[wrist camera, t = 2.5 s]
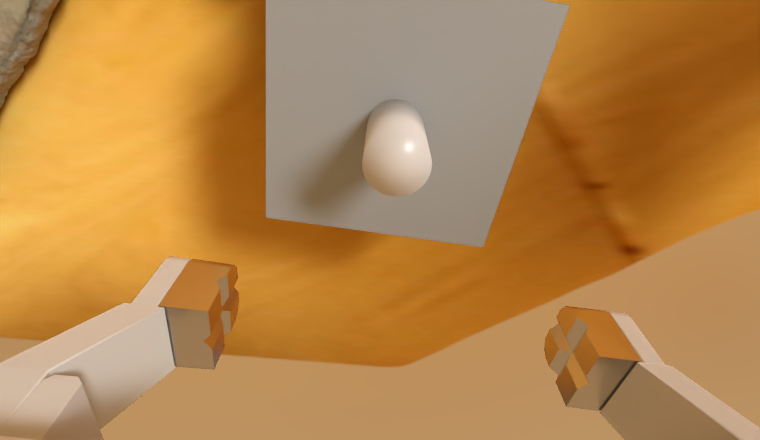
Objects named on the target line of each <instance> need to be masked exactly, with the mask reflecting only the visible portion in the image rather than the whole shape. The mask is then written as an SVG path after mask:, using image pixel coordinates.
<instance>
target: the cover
mask: <svg viewBox="0 0 760 440" xmlns="http://www.w3.org/2000/svg"><path fill="white" fill-rule="evenodd" d="M569 7H570V5H566V4H560V3H555V2H549V1H544V0H266V218H272V219H280V220H287V221H294V222H302V223H309V224H316V225H323V226H331V227H338V228H345V229H353V230H360V231H367V232H375V233H382V234H389V235H396V236H404V237H411V238H418V239H426V240H433V241H440V242H448V243H455V244H462V245H469V246H477V247H483V246H484V243H485V241H486V238H487V235H488V232H489V230H490V227H491V224H492V221H493V218H494V216H495V213H496V210H497V207H498V204H499V202H500V199H501V196H502V193H503V191H504V188H505V185H506V182H507V179H508V177H509V174H510V171H511V168H512V166H513V163H514V160H515V157H516V154H517V152H518V149H519V146H520V143H521V140H522V138H523V135H524V132H525V129H526V127H527V124H528V121H529V118H530V115H531V113H532V110H533V107H534V104H535V102H536V99H537V96H538V93H539V90H540V88H541V85H542V82H543V79H544V76H545V74H546V71H547V68H548V65H549V63H550V60H551V57H552V54H553V51H554V49H555V46H556V43H557V40H558V38H559V35H560V32H561V29H562V26H563V24H564V21H565V18H566V15H567V13H568V10H569Z"/></svg>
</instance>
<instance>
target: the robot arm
mask: <svg viewBox="0 0 760 440" xmlns="http://www.w3.org/2000/svg"><path fill="white" fill-rule="evenodd" d="M237 279H238V274H237V267H236V266H235V265H231V264H225V263H218V262H211V261H204V260H197V259H188V258H181V257H174V256H170V257H168V258H166V259H165V260H164V261H163V263H162V264H161V265H160V267H159V268H158V269H157V270H156V272H155V273H154V274H153V276H152V277H151V278H150V279H149V281H148V282H147V283H146V284H145V286H144V287H143V288H142V290H141V291H140V292H139V293H138V295H137V296H136V297H135V299H134V300H133V301H132V302H131V304H130V303H122V304H120V305H118V306H116V307H114V308H112V309H110V310H108V311H106V312H104V313H102V314H100V315H98V316H96V317H93V318H91V319H89V320H87V321H85V322H83V323H81V324H79V325H77V326H75V327H73V328H71V329H69V330H67V331H65V332H63V333H60V334H58V335H56V336H54V337H52V338H50V339H48V340H46V341H44V342H42V343H40V344H38V345H36V346H34V347H32V348H30V349H28V350H25V351H23V352H22V353H19V354H17V355H15V356H13V357H11V358H9V359H7V360H5V361H3V362H1V363H0V440H103V437H102V434H101V432H100V429H101V428H102V427H104V426H105V425H106V424H107V423H108V422H110V421H111V420H112V419H113V418H115V417H116V416H117V415H118V414H119V413H121V412H122V411H123V410H125V409H126V408H127V407H128V406H130V405H131V404H132V403H133V402H134V401H136V400H137V399H138V398H139V397H141V396H142V395H143V394H144V393H146V392H147V391H148V390H149V389H150V388H152V387H153V386H154V385H155V384H157V383H158V382H159V381H160V380H162V379H163V378H164V377H165V376H167V375H168V374H169V373H170V372H171V371H173V370H174V369H175V366H176V367H189V368H202V369H215V366H216V364H217V362H218V359H219V357H220V355H221V353H222V350H223V348H224V346H225V345H224V335H225V334H227V333H228V332H230V331H231V330H232V327H233V325H234V322H235V319H236V315H237V311H238V303H239V292H238V291H237V290H236V289H235V288H234V285H235V283H236V281H237ZM557 320H558V323H559V324H558V325H556V326H555V327H553V328H551V329H550V330H549V332H548V334H547V336H546V338H545V348H544V350H545V356H546V359H547V362H548V365H549V367H551V369H552V370H554V371H555V372H556V373H557V374H558V377H557V380H556V384H557V386H558V389H559V391H560V393H561V395H562V398H563V400H564V403H565V405H566V407H573V408H581V409H589V410H596V411H601V412H600V414H601V415H602V416H603V417H604V418H605V419H606V420H607V421H608V422H609V423H610V424H611V425H612V427H613V428H615V430H616V431H617V432H618V433H619V434H620V435H621V436H622V437H623V438H624V439H625V440H760V428H759V427H757V426H756V425H754V424H753V423H752V422H750V421H749V420H747V419H746V418H745V417H743V416H742V415H740V414H739V413H737V412H736V411H734V410H733V409H732V408H730V407H729V406H727V405H726V404H725V403H723V402H722V401H720V400H719V399H718V398H716V397H715V396H713V395H712V394H710V393H709V392H708V391H706V390H705V389H703V388H702V387H701V386H699V385H698V384H696V383H695V382H693V381H692V380H691V379H689V378H688V377H686V376H685V375H684V374H682V373H680V372H679V371H678V370H676V369H675V368H673V367H672V366H668V365H665V364H664V363H663V361H662V360H661V359H660V357H659V356H658V355H657V353H656V352H655V350H654V349H653V348H652V346H651V345H650V344H649V342H648V341H647V340H646V338H645V337H644V336H643V334H642V333H641V331H640V330H639V328H638V327H637V326H636V324H635V323H634V321H633V320H632V319H631V317H630V316H629V315H627V314H626V313H624V312H616V311H607V310H604V311H602V310H594V309H586V308H577V307H569V306H565V307H564V308H562V309H561V310H560V312H559V314H558V315H557Z"/></svg>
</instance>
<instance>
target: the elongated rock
mask: <svg viewBox="0 0 760 440" xmlns="http://www.w3.org/2000/svg"><path fill="white" fill-rule="evenodd" d="M58 2H59V0H0V108H2V107H3V104H4V101H5V96H7V94H8V90H9V89H10V87H11V85H13V84H14V83H15V82H16V80H17V79H18V78H19V77H20V76H21V75H22V73H23V71H24V66H25V65H26V64H27V63H28V62H29V60H30V58H32V57H34V56H35V55H36V54H37V52H38V48H39V42H40V41H41V40H42V37H43V35H44V33H45V31H46V30H47V28H48V23H49V19H50V18H51V15H52V12H53V10H54V9H55V7H56V5H57V4H58Z"/></svg>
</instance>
